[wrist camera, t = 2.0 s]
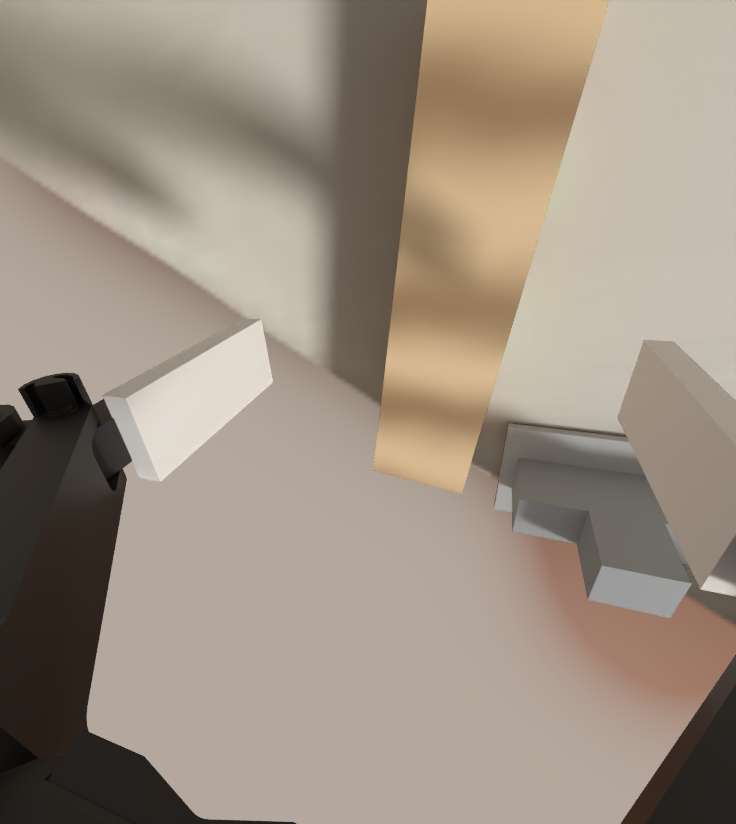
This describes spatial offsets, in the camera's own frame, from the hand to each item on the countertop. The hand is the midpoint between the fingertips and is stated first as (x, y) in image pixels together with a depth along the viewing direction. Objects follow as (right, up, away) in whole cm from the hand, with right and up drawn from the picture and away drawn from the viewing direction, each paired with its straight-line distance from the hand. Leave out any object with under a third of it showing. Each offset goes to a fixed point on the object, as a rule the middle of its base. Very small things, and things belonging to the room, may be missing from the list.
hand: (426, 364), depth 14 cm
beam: (+4, +7, +10) cm, 13 cm away
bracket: (+15, -7, +14) cm, 21 cm away
